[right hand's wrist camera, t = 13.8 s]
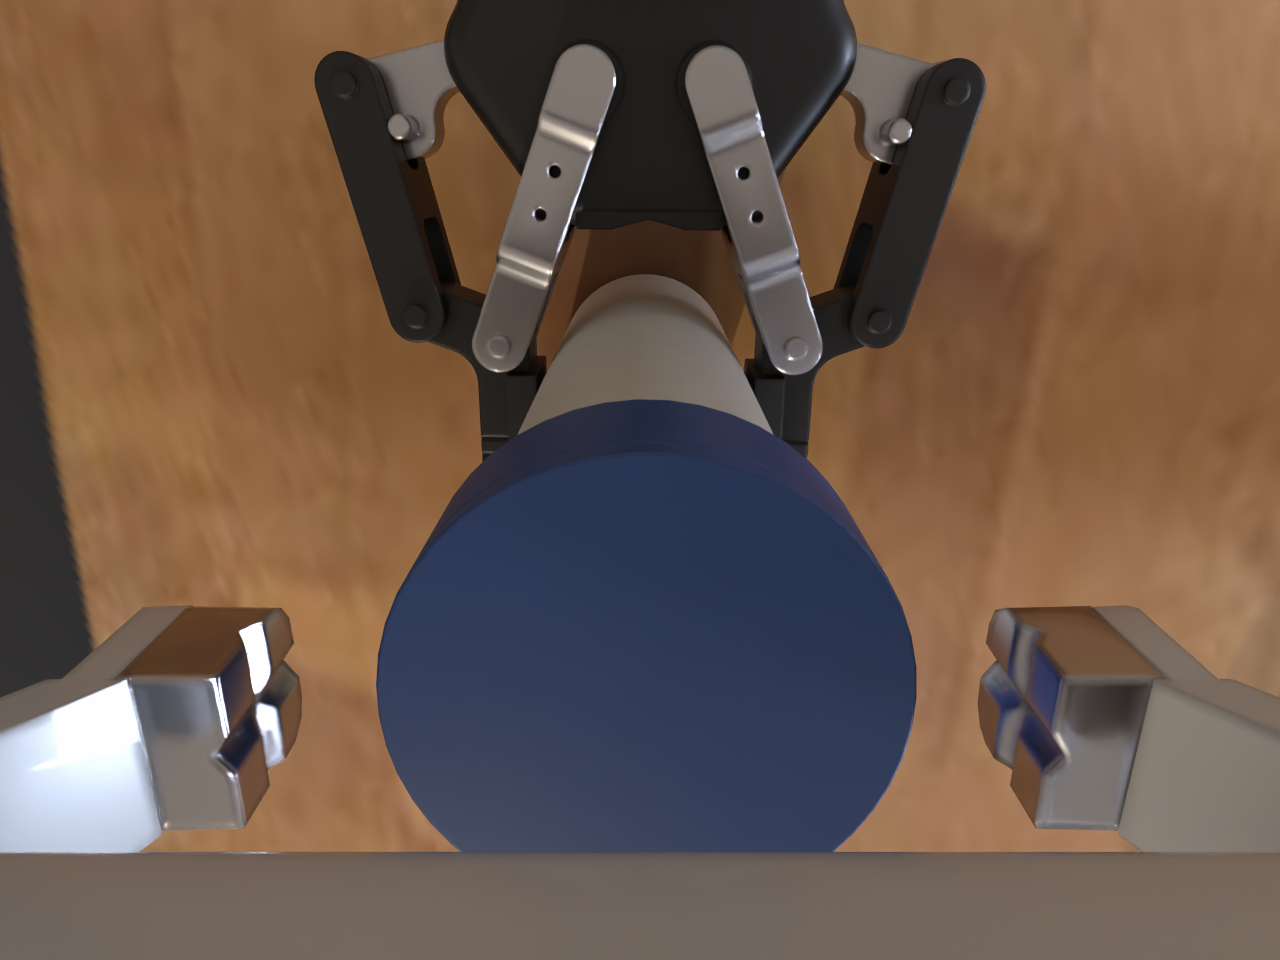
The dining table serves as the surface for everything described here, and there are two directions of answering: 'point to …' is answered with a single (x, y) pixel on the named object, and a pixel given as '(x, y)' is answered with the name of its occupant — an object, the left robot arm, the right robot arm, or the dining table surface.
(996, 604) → the dining table surface
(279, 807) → the dining table surface
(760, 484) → the lid
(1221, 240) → the dining table surface
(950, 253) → the dining table surface
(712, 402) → the white bottle
